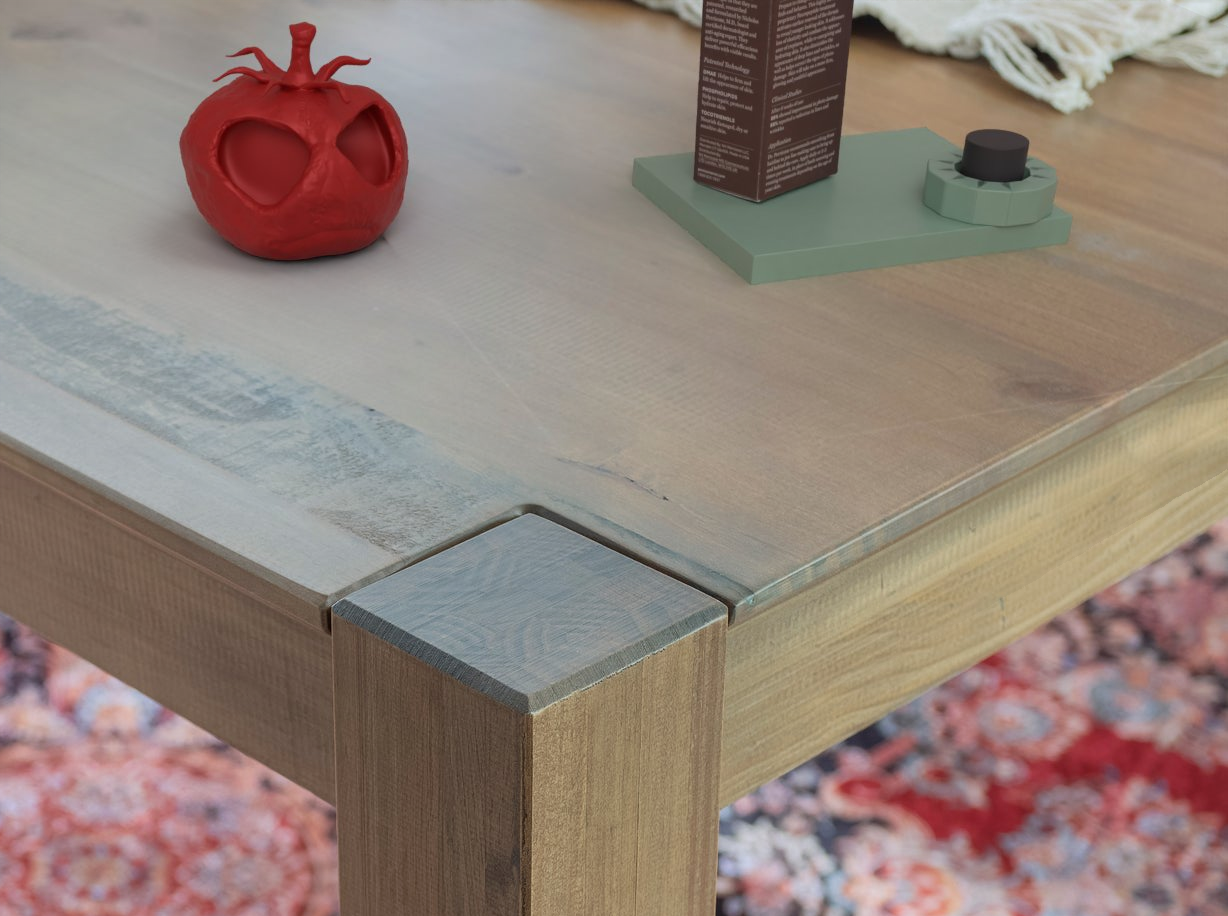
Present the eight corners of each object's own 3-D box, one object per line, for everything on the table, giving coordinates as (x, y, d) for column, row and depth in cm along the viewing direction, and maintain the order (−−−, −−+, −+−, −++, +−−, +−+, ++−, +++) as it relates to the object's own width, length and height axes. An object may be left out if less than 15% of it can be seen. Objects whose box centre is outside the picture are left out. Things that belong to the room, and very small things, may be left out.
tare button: (1000, 164, 88) (1007, 126, 86) (1034, 184, 85) (1042, 145, 84) (947, 170, 87) (954, 132, 86) (980, 190, 85) (987, 151, 84)
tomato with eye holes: (169, 210, 89) (151, 2, 83) (376, 188, 91) (372, -14, 86) (213, 290, 81) (197, 67, 75) (437, 264, 84) (437, 47, 78)
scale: (921, 154, 96) (930, 94, 95) (1072, 248, 86) (1085, 183, 85) (631, 186, 92) (635, 124, 90) (754, 290, 82) (761, 222, 80)
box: (765, 153, 92) (792, -115, 85) (839, 177, 89) (874, -97, 82) (681, 181, 89) (703, -95, 82) (756, 207, 86) (785, -76, 79)
